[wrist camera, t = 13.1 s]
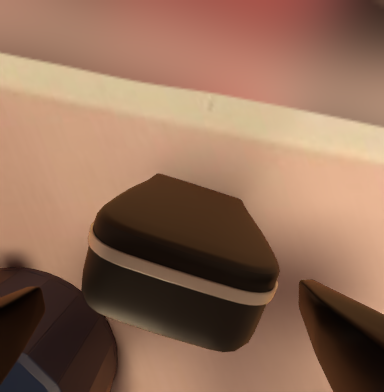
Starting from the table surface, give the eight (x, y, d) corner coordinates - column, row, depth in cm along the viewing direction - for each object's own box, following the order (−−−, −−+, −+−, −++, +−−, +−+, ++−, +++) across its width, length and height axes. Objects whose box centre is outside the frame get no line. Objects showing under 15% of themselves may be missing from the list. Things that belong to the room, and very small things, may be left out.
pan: (100, 232, 20) (49, 275, 13) (130, 444, 24) (102, 553, 18) (-86, 239, 21) (-215, 281, 15) (-26, 440, 25) (-105, 541, 19)
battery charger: (140, 218, 19) (47, 324, 8) (153, 170, 18) (71, 215, 7) (228, 246, 19) (257, 390, 8) (246, 199, 19) (303, 289, 7)
